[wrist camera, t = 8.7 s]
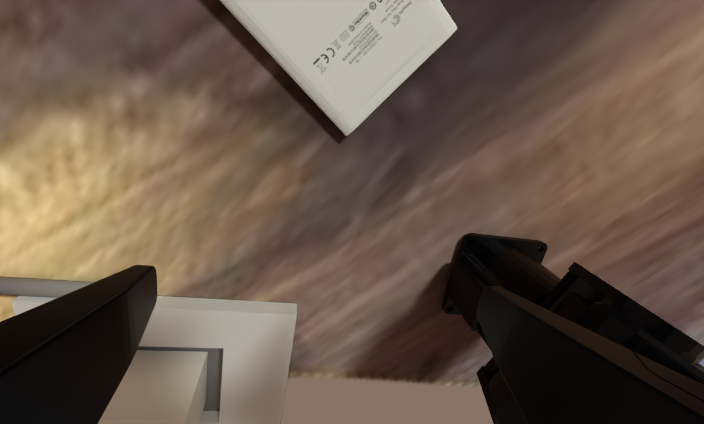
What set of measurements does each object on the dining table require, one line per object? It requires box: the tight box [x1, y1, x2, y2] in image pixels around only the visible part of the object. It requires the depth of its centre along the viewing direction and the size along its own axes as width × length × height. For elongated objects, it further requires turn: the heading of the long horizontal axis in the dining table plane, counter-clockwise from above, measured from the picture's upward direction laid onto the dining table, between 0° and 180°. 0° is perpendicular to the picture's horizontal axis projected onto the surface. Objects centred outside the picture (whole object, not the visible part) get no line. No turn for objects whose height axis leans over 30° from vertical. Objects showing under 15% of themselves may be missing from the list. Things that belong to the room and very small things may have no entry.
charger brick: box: [98, 350, 208, 424], centre depth 21 cm, size 5×5×6 cm
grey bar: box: [0, 277, 94, 298], centre depth 20 cm, size 9×2×1 cm, turn 80°
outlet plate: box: [12, 296, 297, 424], centre depth 23 cm, size 16×13×1 cm
